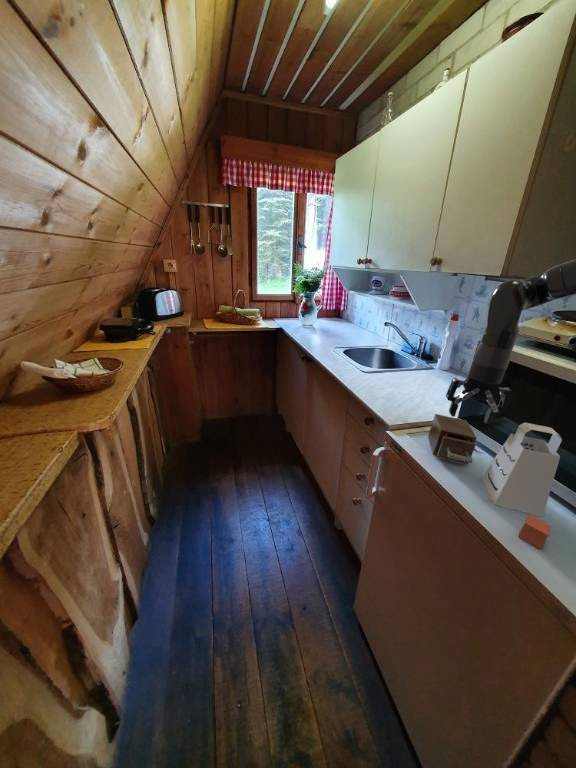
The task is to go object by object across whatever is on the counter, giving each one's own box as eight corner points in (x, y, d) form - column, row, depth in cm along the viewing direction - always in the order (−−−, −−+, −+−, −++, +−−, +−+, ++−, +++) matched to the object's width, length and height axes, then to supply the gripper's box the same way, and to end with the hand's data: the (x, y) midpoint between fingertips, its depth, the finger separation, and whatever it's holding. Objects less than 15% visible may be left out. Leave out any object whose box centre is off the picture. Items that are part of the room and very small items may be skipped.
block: (543, 539, 66) (551, 525, 65) (540, 549, 63) (548, 535, 62) (521, 527, 69) (528, 514, 67) (517, 536, 66) (525, 522, 65)
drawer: (472, 474, 84) (480, 453, 82) (440, 466, 86) (447, 446, 84) (459, 446, 98) (466, 427, 96) (432, 439, 100) (438, 421, 98)
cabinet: (467, 462, 91) (476, 437, 88) (433, 454, 93) (441, 430, 90) (458, 443, 102) (466, 420, 99) (428, 436, 104) (435, 413, 101)
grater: (481, 478, 84) (508, 414, 77) (523, 488, 82) (555, 423, 75) (494, 504, 75) (526, 434, 68) (542, 516, 73) (581, 445, 65)
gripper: (463, 361, 76) (443, 419, 82) (527, 372, 72) (502, 431, 78) (456, 354, 82) (439, 407, 88) (515, 363, 79) (493, 419, 85)
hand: (469, 419), depth 83 cm, fingers open, 8 cm apart
